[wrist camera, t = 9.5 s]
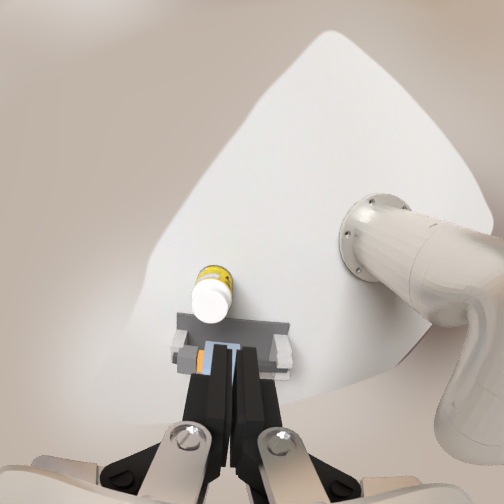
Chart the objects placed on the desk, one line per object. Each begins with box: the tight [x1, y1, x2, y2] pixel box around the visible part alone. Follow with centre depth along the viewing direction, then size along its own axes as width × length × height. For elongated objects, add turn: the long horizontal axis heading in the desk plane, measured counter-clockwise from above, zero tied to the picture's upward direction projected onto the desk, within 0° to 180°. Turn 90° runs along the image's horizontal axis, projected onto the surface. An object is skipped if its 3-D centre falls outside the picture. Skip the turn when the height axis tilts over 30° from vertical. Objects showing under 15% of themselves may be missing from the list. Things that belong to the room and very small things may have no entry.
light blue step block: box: [202, 341, 240, 383], centre depth 34 cm, size 5×4×7 cm
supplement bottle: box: [191, 265, 233, 323], centre depth 34 cm, size 5×5×8 cm
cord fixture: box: [171, 313, 293, 380], centre depth 38 cm, size 16×8×7 cm, turn 83°
